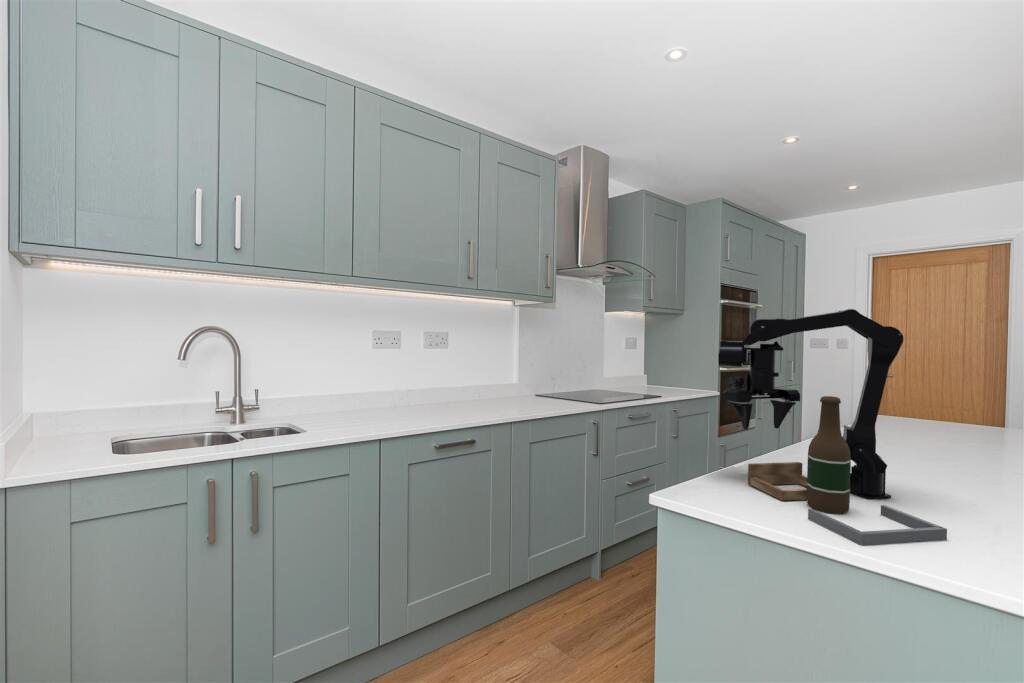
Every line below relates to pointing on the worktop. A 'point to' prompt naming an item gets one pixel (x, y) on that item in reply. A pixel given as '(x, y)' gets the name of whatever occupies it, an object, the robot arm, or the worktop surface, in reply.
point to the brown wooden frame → (778, 479)
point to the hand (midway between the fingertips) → (761, 428)
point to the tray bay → (918, 533)
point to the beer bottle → (829, 463)
